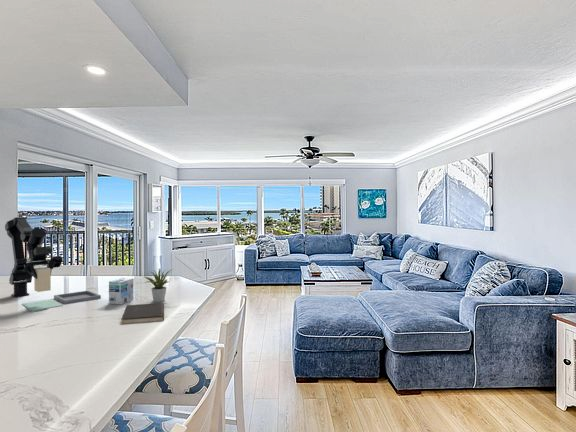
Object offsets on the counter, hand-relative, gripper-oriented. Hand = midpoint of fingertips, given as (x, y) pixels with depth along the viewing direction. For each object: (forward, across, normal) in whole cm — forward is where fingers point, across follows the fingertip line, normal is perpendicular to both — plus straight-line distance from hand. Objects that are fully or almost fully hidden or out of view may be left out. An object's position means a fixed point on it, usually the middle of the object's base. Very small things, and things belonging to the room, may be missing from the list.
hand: (43, 277), depth 176 cm
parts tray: (+7, +16, +12) cm, 21 cm away
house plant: (+29, +43, -10) cm, 53 cm away
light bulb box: (+22, +28, -2) cm, 36 cm away
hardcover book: (+42, +24, -22) cm, 53 cm away
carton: (+3, 0, +5) cm, 6 cm away
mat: (+8, 0, +10) cm, 13 cm away
